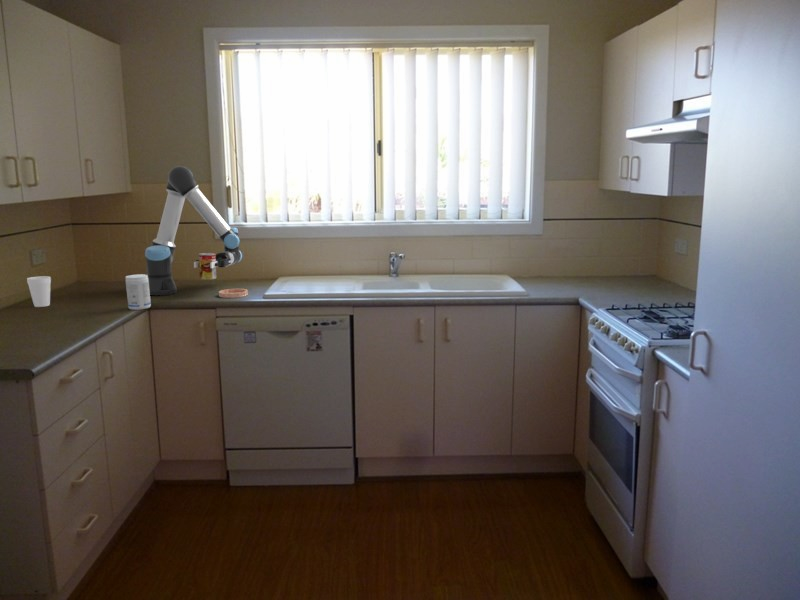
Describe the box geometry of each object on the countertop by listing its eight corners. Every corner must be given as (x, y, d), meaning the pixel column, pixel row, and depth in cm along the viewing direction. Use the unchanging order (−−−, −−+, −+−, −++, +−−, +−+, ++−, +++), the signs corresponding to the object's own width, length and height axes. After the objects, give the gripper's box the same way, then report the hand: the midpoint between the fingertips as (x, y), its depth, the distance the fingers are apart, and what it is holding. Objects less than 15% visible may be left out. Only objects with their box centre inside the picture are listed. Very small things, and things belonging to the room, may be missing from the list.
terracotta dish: (213, 297, 317) (213, 293, 317) (226, 292, 330) (226, 288, 330) (240, 298, 314) (240, 294, 314) (252, 292, 328) (252, 288, 327)
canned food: (201, 276, 327) (200, 253, 324) (217, 276, 327) (216, 253, 325) (198, 279, 319) (197, 254, 317) (214, 279, 320) (213, 254, 317)
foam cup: (28, 305, 303) (25, 277, 300) (50, 302, 309) (47, 275, 306) (33, 308, 296) (29, 280, 293) (55, 305, 301) (52, 277, 299)
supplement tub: (147, 305, 301) (144, 273, 298) (154, 308, 293) (151, 275, 291) (125, 307, 295) (122, 275, 292) (132, 311, 287) (129, 278, 285)
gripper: (242, 267, 338) (223, 273, 316) (205, 265, 342) (183, 272, 320) (242, 252, 337) (222, 258, 315) (204, 251, 340) (182, 256, 318)
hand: (202, 265), depth 317 cm, fingers closed on canned food, 8 cm apart
